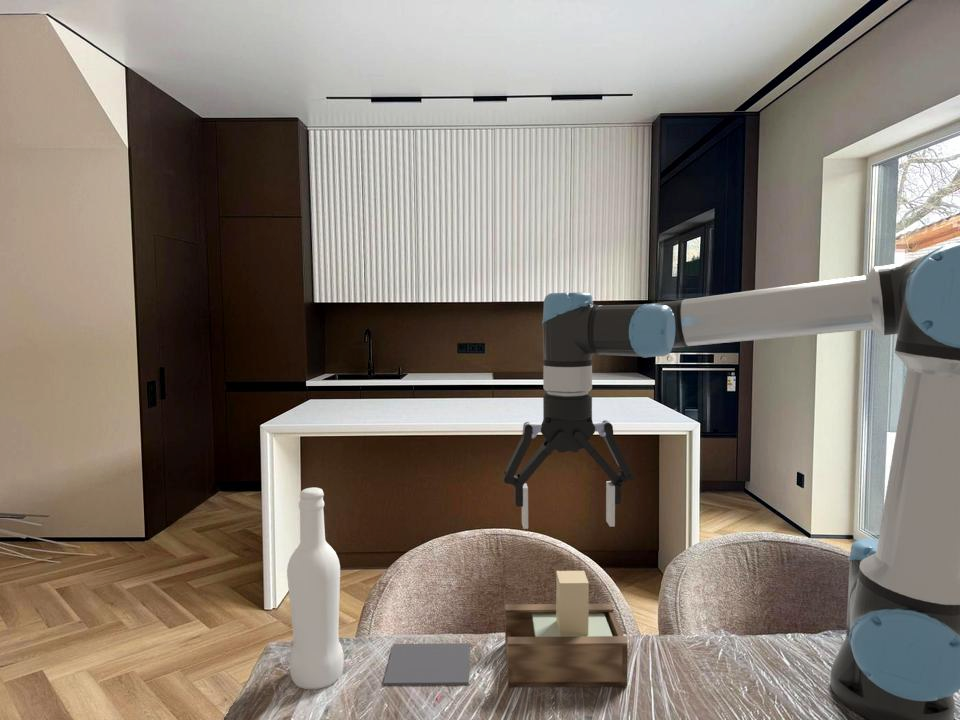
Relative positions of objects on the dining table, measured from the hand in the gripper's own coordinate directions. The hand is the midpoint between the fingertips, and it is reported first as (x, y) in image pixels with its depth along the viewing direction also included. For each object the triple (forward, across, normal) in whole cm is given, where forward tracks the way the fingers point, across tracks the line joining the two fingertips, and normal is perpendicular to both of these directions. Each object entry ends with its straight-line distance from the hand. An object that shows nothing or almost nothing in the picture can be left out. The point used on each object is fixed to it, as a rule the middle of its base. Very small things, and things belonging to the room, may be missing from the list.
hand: (567, 525), depth 101 cm
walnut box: (+23, +1, 0) cm, 23 cm away
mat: (+23, +22, 0) cm, 32 cm away
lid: (+18, 0, +1) cm, 18 cm away
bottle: (+23, +40, +2) cm, 46 cm away
